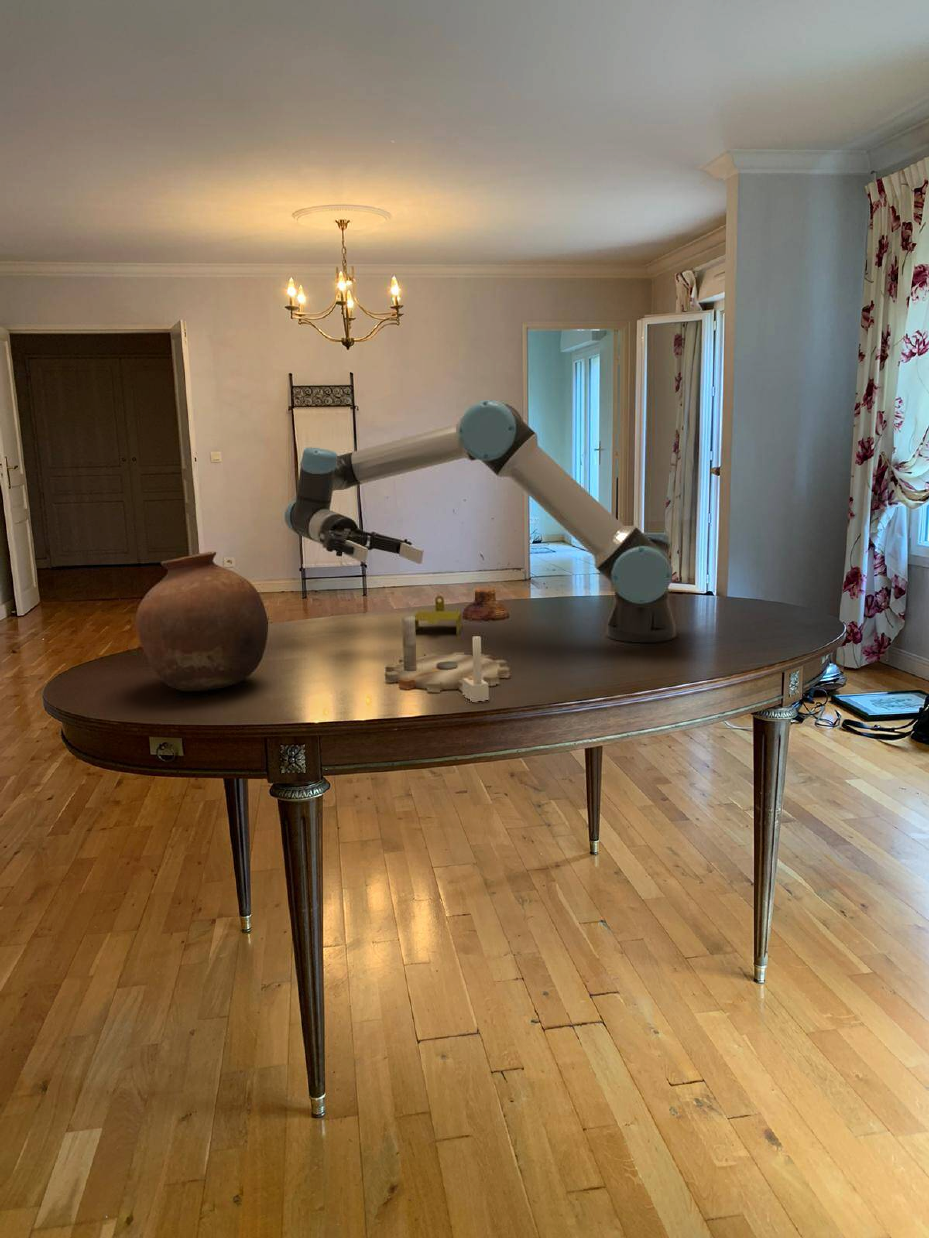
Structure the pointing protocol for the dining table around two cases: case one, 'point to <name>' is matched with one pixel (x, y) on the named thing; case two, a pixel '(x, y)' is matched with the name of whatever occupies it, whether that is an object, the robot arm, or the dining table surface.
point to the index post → (476, 677)
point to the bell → (485, 607)
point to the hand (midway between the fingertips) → (394, 556)
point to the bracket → (438, 615)
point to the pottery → (202, 625)
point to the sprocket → (438, 666)
